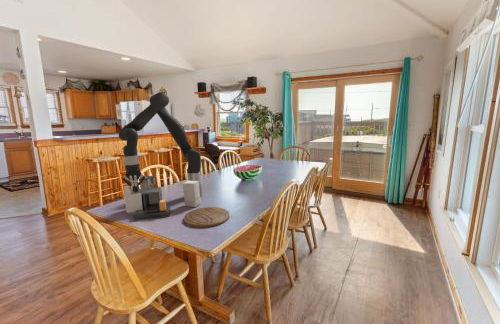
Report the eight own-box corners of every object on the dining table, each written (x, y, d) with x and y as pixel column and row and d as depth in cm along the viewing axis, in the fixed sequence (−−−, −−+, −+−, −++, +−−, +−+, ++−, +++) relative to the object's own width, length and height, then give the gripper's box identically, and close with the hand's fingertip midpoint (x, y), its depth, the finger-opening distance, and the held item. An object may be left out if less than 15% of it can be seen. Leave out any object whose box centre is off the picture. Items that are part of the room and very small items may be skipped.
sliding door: (143, 210, 150) (140, 184, 147) (142, 211, 149) (139, 185, 145) (127, 212, 148) (123, 185, 145) (126, 213, 147) (122, 186, 144)
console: (170, 211, 150) (170, 206, 150) (169, 216, 143) (168, 211, 142) (136, 214, 146) (136, 210, 146) (133, 220, 139) (133, 215, 138)
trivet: (211, 206, 157) (211, 204, 157) (238, 217, 140) (238, 214, 140) (175, 219, 139) (175, 216, 139) (201, 233, 122) (201, 229, 122)
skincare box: (201, 204, 162) (199, 180, 159) (195, 207, 156) (193, 183, 153) (189, 202, 164) (188, 180, 161) (184, 206, 158) (182, 182, 155)
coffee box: (149, 197, 178) (147, 175, 175) (157, 197, 177) (155, 175, 174) (141, 201, 169) (139, 178, 166) (150, 202, 168) (147, 179, 165)
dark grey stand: (162, 204, 162) (161, 187, 160) (160, 211, 150) (158, 192, 148) (133, 207, 158) (130, 189, 156) (128, 215, 147) (125, 195, 144)
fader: (166, 207, 148) (165, 199, 147) (165, 210, 143) (164, 201, 143) (161, 208, 147) (160, 199, 146) (160, 210, 143) (159, 202, 142)
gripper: (145, 161, 148) (148, 189, 151) (121, 163, 145) (125, 191, 149) (143, 163, 141) (146, 192, 144) (117, 165, 138) (122, 195, 141)
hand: (135, 192), depth 146 cm, fingers closed
